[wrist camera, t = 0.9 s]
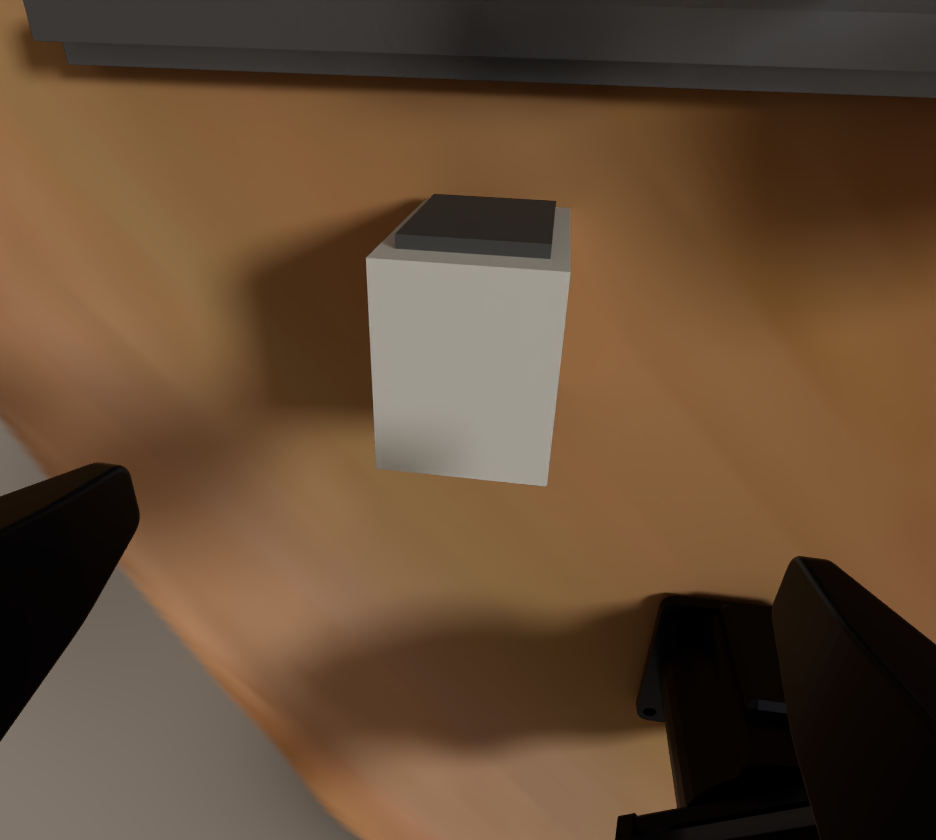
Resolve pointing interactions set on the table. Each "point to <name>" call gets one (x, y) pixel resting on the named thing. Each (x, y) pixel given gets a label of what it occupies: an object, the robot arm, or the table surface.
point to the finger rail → (520, 40)
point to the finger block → (469, 337)
